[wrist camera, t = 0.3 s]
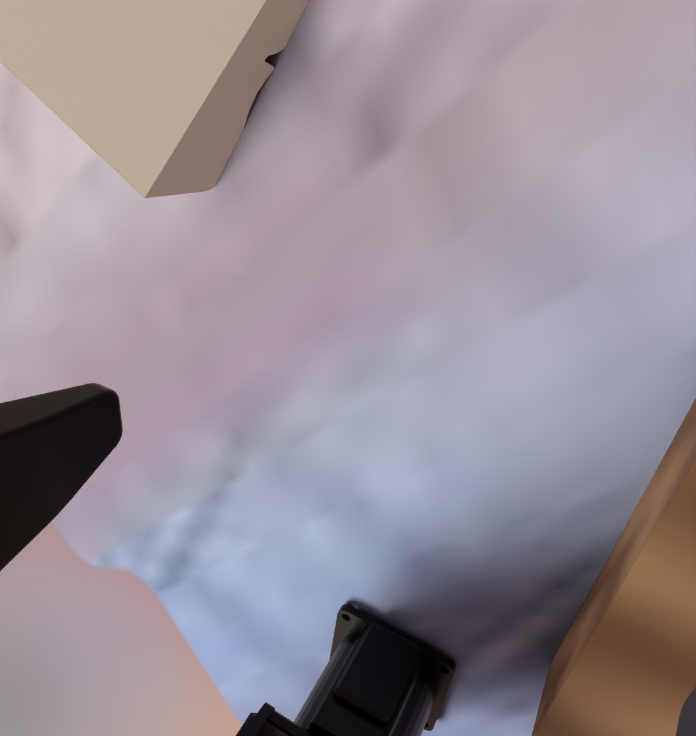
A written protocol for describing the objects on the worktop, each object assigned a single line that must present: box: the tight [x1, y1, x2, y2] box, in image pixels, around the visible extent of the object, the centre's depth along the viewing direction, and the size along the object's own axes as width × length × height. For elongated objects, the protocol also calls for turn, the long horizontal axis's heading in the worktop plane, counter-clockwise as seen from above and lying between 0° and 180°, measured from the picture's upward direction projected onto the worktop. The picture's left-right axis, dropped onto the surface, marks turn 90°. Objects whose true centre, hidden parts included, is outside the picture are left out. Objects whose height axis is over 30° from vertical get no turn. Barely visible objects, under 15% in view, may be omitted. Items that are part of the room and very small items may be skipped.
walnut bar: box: [532, 399, 696, 736], centre depth 22 cm, size 16×4×4 cm, turn 173°
